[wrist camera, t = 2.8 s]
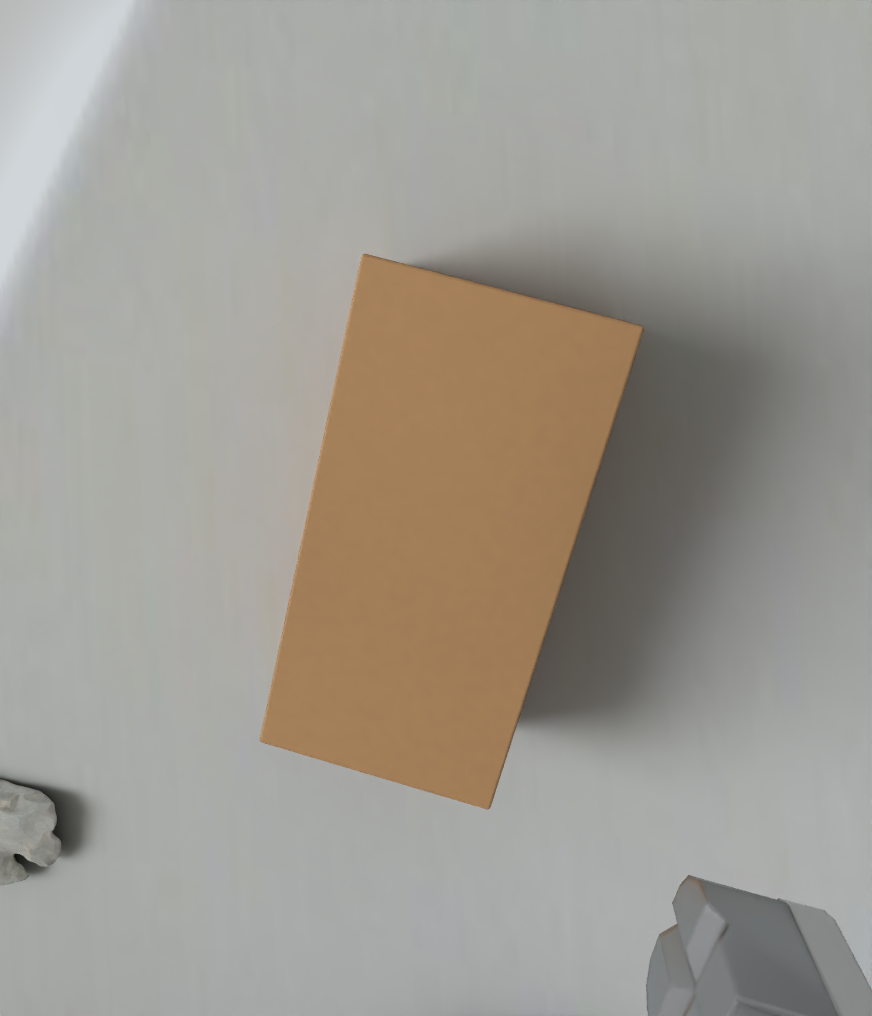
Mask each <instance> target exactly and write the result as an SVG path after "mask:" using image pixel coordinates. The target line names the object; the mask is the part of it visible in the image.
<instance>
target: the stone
mask: <svg viewBox="0 0 872 1016" xmlns="http://www.w3.org/2000/svg"><path fill="white" fill-rule="evenodd" d="M56 823H57V816H56V812H55V804H54V803H53V802H52V801H51V800H50V799H49V798H48V797H47V796H46V795H45V794H43V793H42V792H41V791H39V790H34V789H31V788H27V787H23V786H18V785H15V784H12V783H10V782H8V781H5V780H0V885H6V884H11V883H14V882H18V881H22V880H25V879H27V878H28V877H29V875H28V874H27V872H26V871H25V868H24V867H23V866H22V865H21V864H20V863H19V862H17V860H16V859H15V858H14V854H16V853H17V854H21V855H23V856H24V857H25V858H26V859H27V860H28V861H31V862H35V863H37V864H38V865H39V866H41V867H42V866H49V865H51V864H53V863H54V862H55V861H56V859H57V858H58V856H59V855H60V851H61V848H62V847H61V841H60V839H59V838H58V837H56V836H55V835H54V833H53V832H52V831H53V830H54V829H55V826H56Z"/></svg>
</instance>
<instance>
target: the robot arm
mask: <svg viewBox="0 0 872 1016" xmlns="http://www.w3.org/2000/svg"><path fill="white" fill-rule="evenodd" d="M672 904H673V908H674V912H675V916H676V920H677V924H676V925H674V926H672V927H671V928H669V929H667V930H666V931H664V932H662V933H661V934H659V936H658V939H657V942H656V944H655V947H654V950H653V953H652V955H651V958H650V964H649V971H648V977H647V984H646V991H647V1010H648V1016H872V989H871V987H870V986H869V984H868V982H867V980H866V978H865V976H864V974H863V972H862V970H861V968H860V966H859V965H858V963H857V961H856V959H855V957H854V955H853V953H852V951H851V949H850V947H849V945H848V944H847V942H846V940H845V938H844V936H843V934H842V932H841V930H840V928H839V926H838V925H837V923H836V921H835V920H834V918H833V917H831V916H830V915H829V914H828V913H827V912H826V911H825V910H822V909H818V908H814V907H810V906H806V905H802V904H798V903H794V902H790V901H786V900H782V899H777V900H776V899H772V898H769V897H765V896H761V895H758V894H754V893H751V892H747V891H744V890H740V889H737V888H733V887H729V886H726V885H722V884H719V883H715V882H712V881H708V880H704V879H701V878H697V877H694V876H690V875H688V876H687V878H686V879H685V880H684V881H683V882H682V883H681V884H680V886H679V889H678V891H677V893H676V896H675V898H674V900H673V902H672Z"/></svg>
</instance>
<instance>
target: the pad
mask: <svg viewBox="0 0 872 1016" xmlns="http://www.w3.org/2000/svg"><path fill="white" fill-rule="evenodd" d="M643 331H644V328H643V326H641V325H637V324H634V323H630V322H626V321H622V320H618V319H614V318H610V317H607V316H603V315H599V314H595V313H591V312H587V311H584V310H580V309H576V308H572V307H568V306H564V305H560V304H557V303H553V302H549V301H545V300H541V299H537V298H533V297H530V296H526V295H522V294H518V293H514V292H510V291H507V290H503V289H499V288H495V287H491V286H487V285H483V284H480V283H476V282H472V281H468V280H464V279H460V278H457V277H453V276H449V275H445V274H441V273H437V272H433V271H430V270H426V269H422V268H418V267H414V266H410V265H406V264H403V263H399V262H395V261H391V260H387V259H383V258H380V257H376V256H372V255H368V254H363V255H362V257H361V261H360V266H359V271H358V276H357V280H356V285H355V290H354V295H353V299H352V304H351V309H350V314H349V319H348V323H347V328H346V333H345V338H344V342H343V347H342V352H341V357H340V361H339V366H338V371H337V376H336V380H335V385H334V390H333V395H332V399H331V404H330V409H329V414H328V418H327V423H326V428H325V433H324V437H323V442H322V447H321V452H320V456H319V461H318V466H317V471H316V476H315V480H314V485H313V490H312V495H311V499H310V504H309V509H308V514H307V518H306V523H305V528H304V533H303V537H302V542H301V547H300V552H299V556H298V561H297V566H296V571H295V575H294V580H293V585H292V590H291V594H290V599H289V604H288V609H287V613H286V618H285V623H284V628H283V632H282V637H281V642H280V647H279V652H278V656H277V661H276V666H275V671H274V675H273V680H272V685H271V690H270V694H269V699H268V704H267V709H266V713H265V718H264V723H263V728H262V732H261V737H260V741H261V742H262V743H266V744H269V745H273V746H276V747H279V748H283V749H286V750H289V751H293V752H296V753H300V754H303V755H306V756H310V757H313V758H316V759H320V760H323V761H326V762H330V763H333V764H337V765H340V766H343V767H347V768H350V769H353V770H357V771H360V772H363V773H367V774H370V775H374V776H377V777H380V778H384V779H387V780H390V781H394V782H397V783H401V784H404V785H407V786H411V787H414V788H417V789H421V790H424V791H427V792H431V793H434V794H438V795H441V796H444V797H448V798H451V799H454V800H458V801H461V802H464V803H468V804H471V805H475V806H478V807H481V808H485V809H489V808H490V807H491V804H492V801H493V798H494V795H495V791H496V788H497V785H498V782H499V779H500V776H501V773H502V770H503V767H504V763H505V760H506V757H507V754H508V751H509V748H510V745H511V742H512V739H513V735H514V732H515V729H516V726H517V723H518V720H519V717H520V714H521V710H522V707H523V704H524V701H525V698H526V695H527V692H528V689H529V686H530V682H531V679H532V676H533V673H534V670H535V667H536V664H537V661H538V658H539V654H540V651H541V648H542V645H543V642H544V639H545V636H546V633H547V630H548V626H549V623H550V620H551V617H552V614H553V611H554V608H555V605H556V602H557V598H558V595H559V592H560V589H561V586H562V583H563V580H564V577H565V574H566V570H567V567H568V564H569V561H570V558H571V555H572V552H573V549H574V545H575V542H576V539H577V536H578V533H579V530H580V527H581V524H582V521H583V517H584V514H585V511H586V508H587V505H588V502H589V499H590V496H591V493H592V489H593V486H594V483H595V480H596V477H597V474H598V471H599V468H600V465H601V461H602V458H603V455H604V452H605V449H606V446H607V443H608V440H609V437H610V433H611V430H612V427H613V424H614V421H615V418H616V415H617V412H618V408H619V405H620V402H621V399H622V396H623V393H624V390H625V387H626V384H627V380H628V377H629V374H630V371H631V368H632V365H633V362H634V359H635V356H636V352H637V349H638V346H639V343H640V340H641V337H642V334H643Z"/></svg>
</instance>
